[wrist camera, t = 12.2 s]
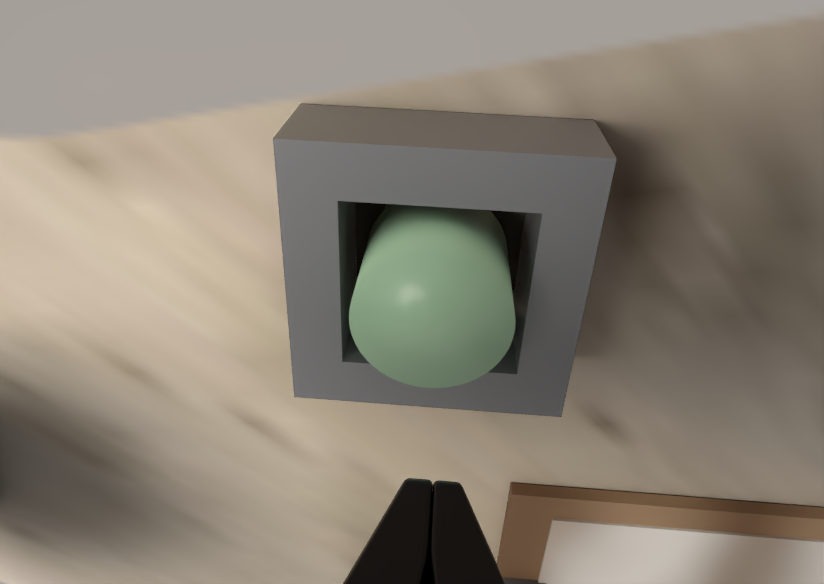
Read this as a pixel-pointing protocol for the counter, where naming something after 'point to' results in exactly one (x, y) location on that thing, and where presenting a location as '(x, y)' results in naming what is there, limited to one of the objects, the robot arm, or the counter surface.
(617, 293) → the counter surface
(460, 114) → the button housing
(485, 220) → the button
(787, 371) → the counter surface
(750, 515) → the clipboard
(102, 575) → the counter surface
